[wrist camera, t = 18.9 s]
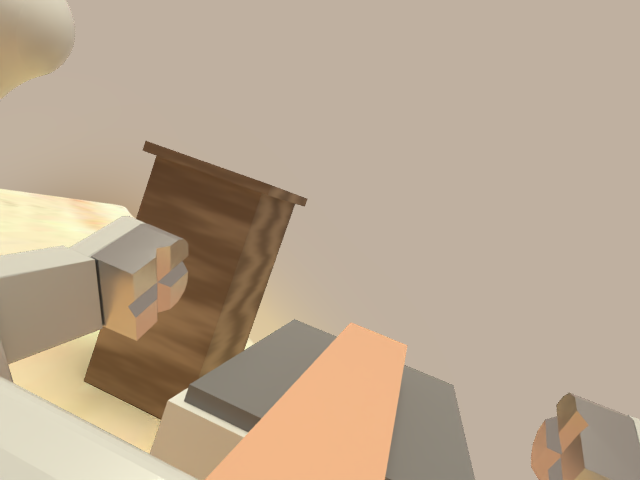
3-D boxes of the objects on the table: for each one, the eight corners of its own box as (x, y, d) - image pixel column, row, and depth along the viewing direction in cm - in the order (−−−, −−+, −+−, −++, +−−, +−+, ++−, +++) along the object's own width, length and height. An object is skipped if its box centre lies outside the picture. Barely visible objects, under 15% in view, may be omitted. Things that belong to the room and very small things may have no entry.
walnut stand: (184, 437, 44) (271, 185, 43) (68, 379, 47) (145, 140, 46) (239, 391, 58) (307, 198, 56) (147, 348, 61) (209, 164, 59)
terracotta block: (306, 779, 8) (356, 650, 8) (113, 653, 9) (154, 534, 8) (394, 380, 30) (407, 345, 30) (338, 356, 31) (350, 322, 31)
